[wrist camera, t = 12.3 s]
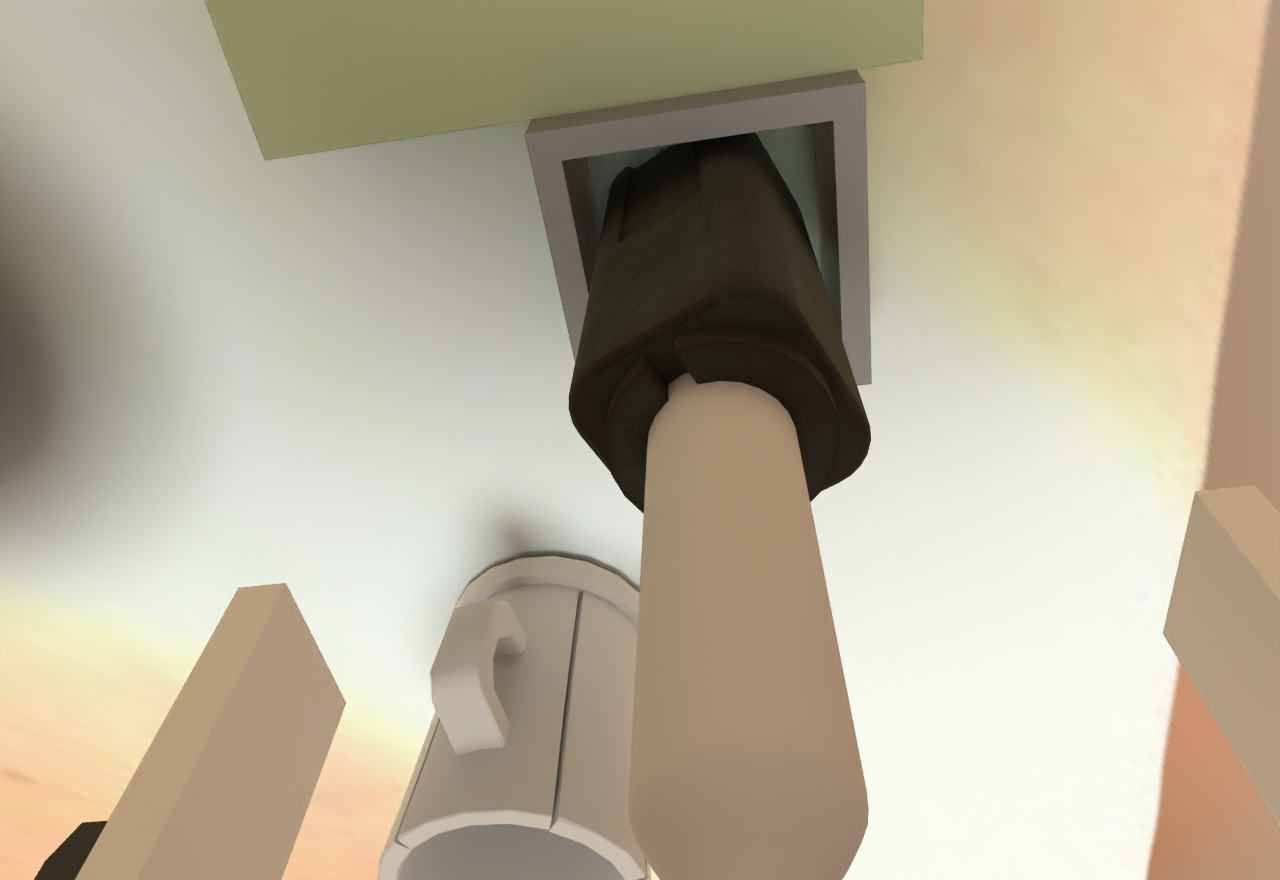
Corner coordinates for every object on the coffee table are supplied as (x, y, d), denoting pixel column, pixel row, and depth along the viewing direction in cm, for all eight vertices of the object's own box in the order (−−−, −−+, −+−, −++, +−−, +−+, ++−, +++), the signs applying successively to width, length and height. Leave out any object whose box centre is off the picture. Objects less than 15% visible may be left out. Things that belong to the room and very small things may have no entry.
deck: (386, 374, 33) (348, 443, 29) (193, -179, 24) (102, -182, 20) (899, 310, 31) (930, 377, 27) (898, -321, 22) (943, -353, 18)
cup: (382, 618, 40) (281, 883, 30) (498, 487, 35) (426, 743, 25) (578, 724, 43) (547, 994, 33) (704, 615, 39) (713, 887, 29)
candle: (734, 95, 27) (916, 960, 6) (815, 234, 29) (1148, 1211, 8) (593, 188, 29) (367, 1113, 8) (681, 312, 31) (683, 1288, 10)
